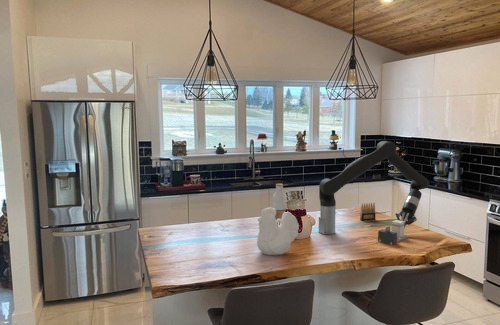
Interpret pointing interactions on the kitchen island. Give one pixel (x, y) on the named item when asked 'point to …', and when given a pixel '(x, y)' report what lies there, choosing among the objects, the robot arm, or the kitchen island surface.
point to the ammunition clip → (367, 212)
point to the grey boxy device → (389, 236)
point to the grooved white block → (398, 228)
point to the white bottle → (279, 201)
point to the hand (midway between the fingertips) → (400, 229)
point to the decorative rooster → (276, 232)
